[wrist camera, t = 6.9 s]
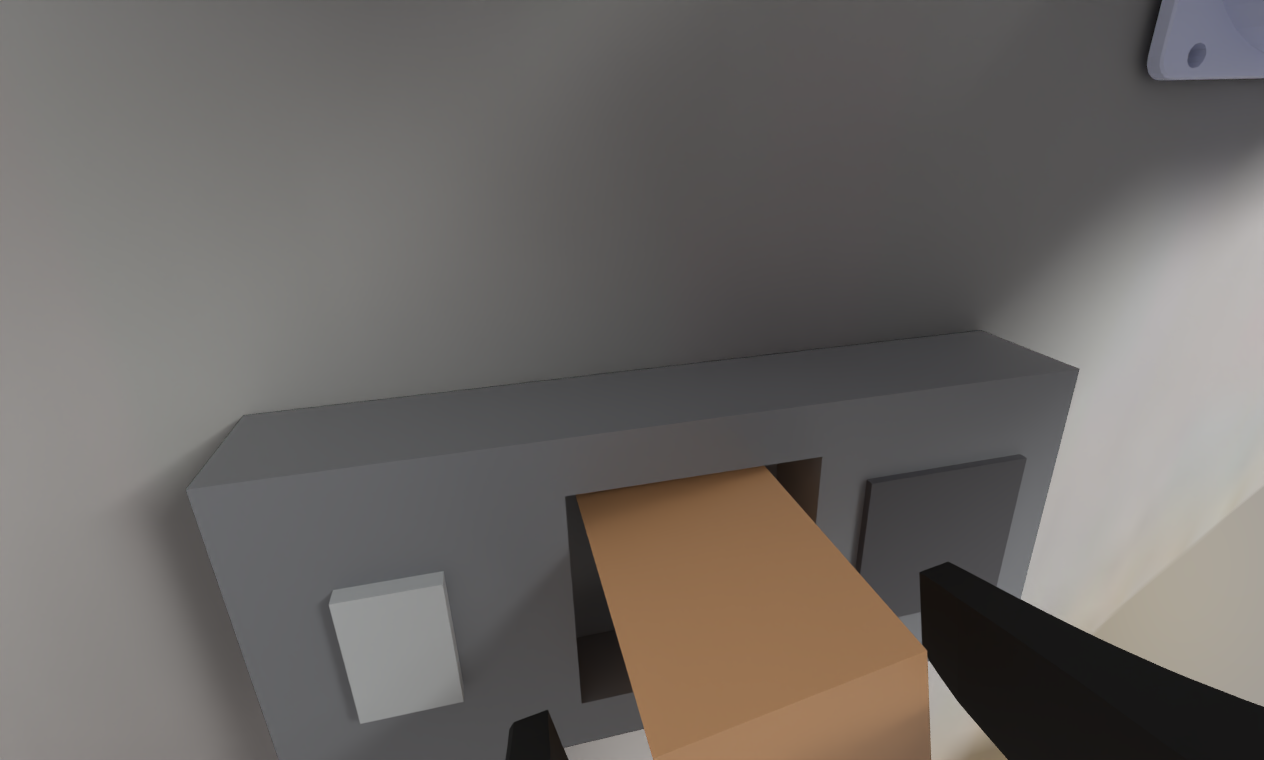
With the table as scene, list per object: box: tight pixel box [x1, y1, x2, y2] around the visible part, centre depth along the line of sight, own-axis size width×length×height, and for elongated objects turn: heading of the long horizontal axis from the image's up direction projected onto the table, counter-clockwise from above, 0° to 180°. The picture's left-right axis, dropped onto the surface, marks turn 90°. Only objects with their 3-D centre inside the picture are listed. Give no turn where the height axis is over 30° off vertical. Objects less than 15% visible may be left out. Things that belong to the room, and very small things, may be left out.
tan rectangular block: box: [576, 466, 931, 760], centre depth 12 cm, size 4×4×7 cm
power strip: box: [186, 330, 1079, 760], centre depth 15 cm, size 18×8×3 cm, turn 92°
